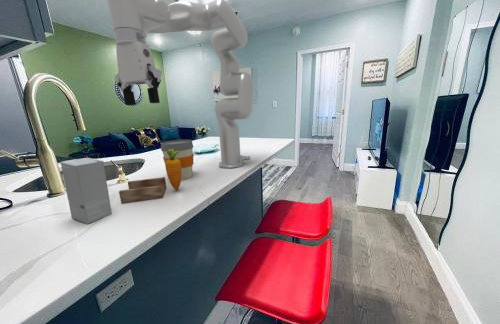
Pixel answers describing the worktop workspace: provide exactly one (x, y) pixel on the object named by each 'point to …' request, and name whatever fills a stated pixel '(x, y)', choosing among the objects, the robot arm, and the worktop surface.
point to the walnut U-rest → (143, 190)
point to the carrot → (173, 169)
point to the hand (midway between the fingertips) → (142, 104)
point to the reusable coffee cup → (180, 155)
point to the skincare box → (86, 189)
